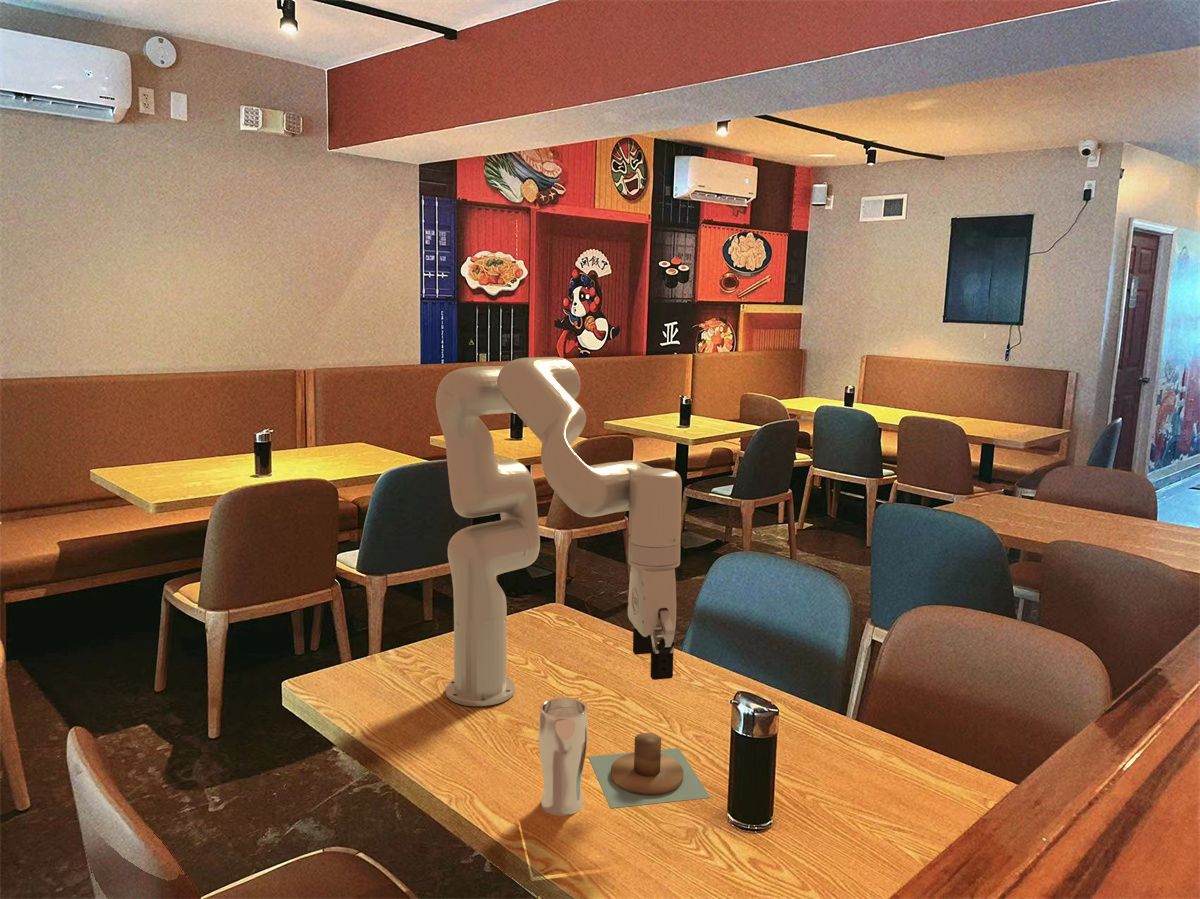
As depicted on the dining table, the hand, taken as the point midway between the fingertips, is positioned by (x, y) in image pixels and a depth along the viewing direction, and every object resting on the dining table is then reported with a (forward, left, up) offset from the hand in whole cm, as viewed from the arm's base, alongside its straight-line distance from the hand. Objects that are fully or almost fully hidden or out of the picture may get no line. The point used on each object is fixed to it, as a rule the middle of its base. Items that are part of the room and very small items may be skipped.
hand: (652, 665), depth 132 cm
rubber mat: (0, 0, -18) cm, 18 cm away
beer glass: (+5, -14, -18) cm, 24 cm away
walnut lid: (0, 0, -18) cm, 18 cm away
